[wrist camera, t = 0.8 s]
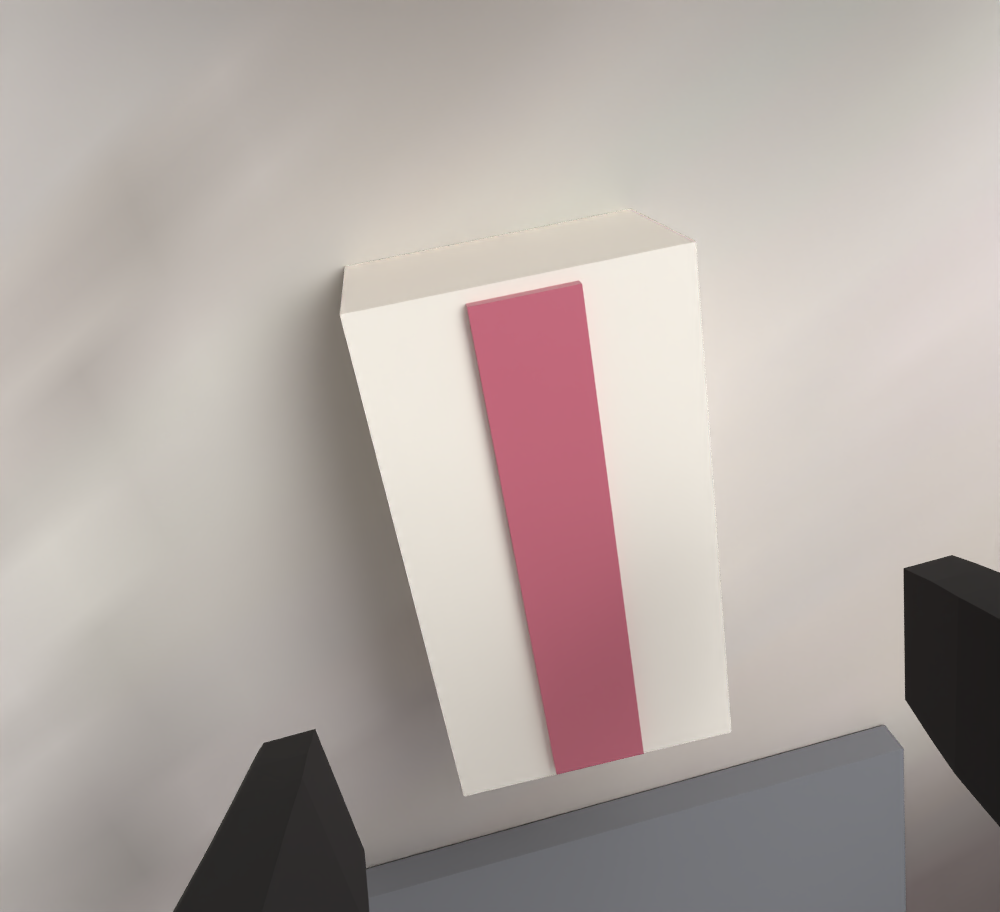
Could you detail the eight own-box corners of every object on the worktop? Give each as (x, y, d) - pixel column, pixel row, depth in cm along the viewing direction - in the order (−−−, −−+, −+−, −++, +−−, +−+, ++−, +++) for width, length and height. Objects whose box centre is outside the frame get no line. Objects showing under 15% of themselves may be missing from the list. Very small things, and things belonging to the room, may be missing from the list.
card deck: (626, 206, 15) (701, 244, 12) (670, 621, 19) (735, 739, 16) (345, 263, 15) (338, 318, 11) (446, 673, 19) (465, 805, 15)
